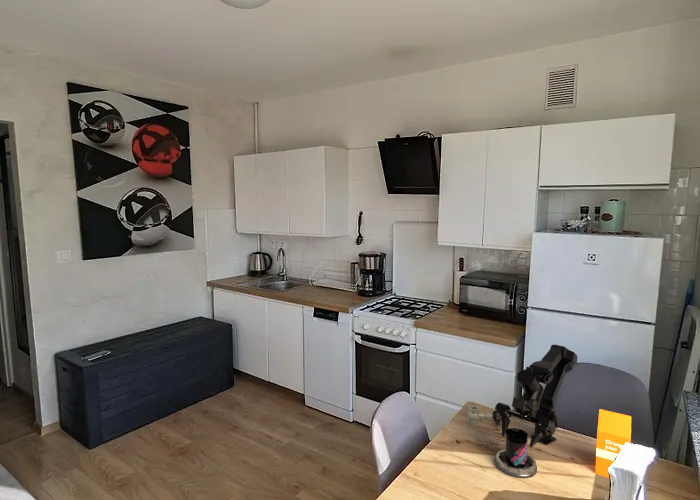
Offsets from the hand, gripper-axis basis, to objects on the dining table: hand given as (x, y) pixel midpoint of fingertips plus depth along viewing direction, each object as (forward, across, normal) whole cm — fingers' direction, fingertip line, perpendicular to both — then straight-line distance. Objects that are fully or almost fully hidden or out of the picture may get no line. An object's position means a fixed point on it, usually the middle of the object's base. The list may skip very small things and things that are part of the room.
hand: (516, 441), depth 138 cm
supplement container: (+5, 0, +6) cm, 8 cm away
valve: (-7, -21, +19) cm, 30 cm away
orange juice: (-7, +23, +19) cm, 31 cm away
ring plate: (+6, 0, +6) cm, 8 cm away
